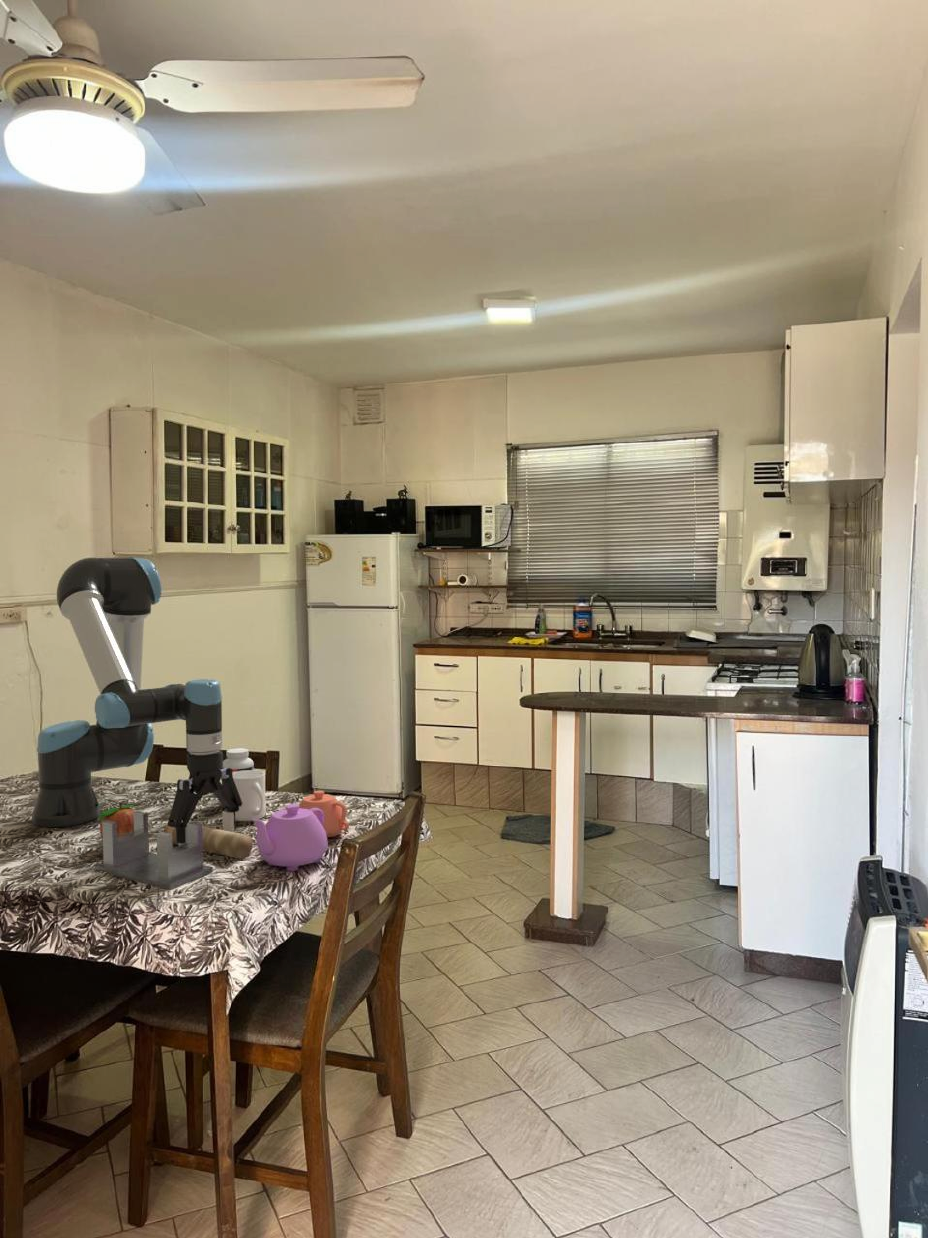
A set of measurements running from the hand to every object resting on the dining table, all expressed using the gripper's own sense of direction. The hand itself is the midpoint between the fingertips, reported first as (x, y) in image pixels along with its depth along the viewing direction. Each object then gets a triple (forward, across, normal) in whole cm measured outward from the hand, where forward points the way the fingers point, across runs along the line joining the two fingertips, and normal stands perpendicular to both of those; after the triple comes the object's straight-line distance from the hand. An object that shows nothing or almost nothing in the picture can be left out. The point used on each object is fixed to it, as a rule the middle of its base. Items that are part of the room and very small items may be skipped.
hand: (207, 848), depth 190 cm
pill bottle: (0, +29, +19) cm, 35 cm away
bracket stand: (0, -15, 0) cm, 15 cm away
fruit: (0, -8, +18) cm, 20 cm away
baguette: (0, 0, 0) cm, 0 cm away
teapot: (+1, +2, -22) cm, 22 cm away
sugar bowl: (0, +20, -16) cm, 26 cm away
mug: (0, +22, +8) cm, 23 cm away
